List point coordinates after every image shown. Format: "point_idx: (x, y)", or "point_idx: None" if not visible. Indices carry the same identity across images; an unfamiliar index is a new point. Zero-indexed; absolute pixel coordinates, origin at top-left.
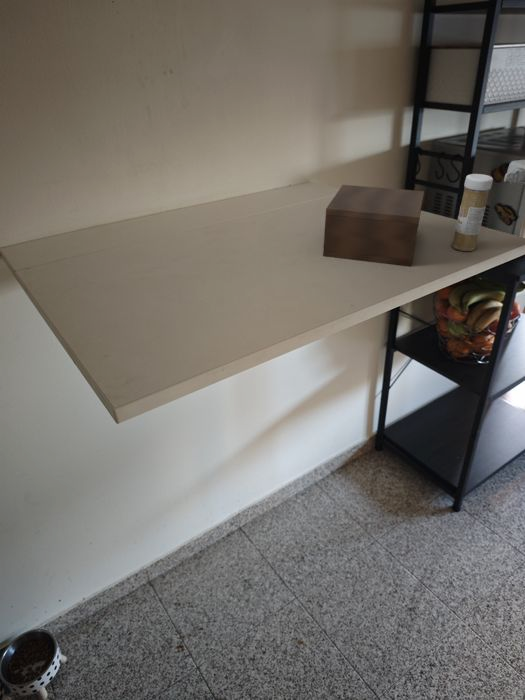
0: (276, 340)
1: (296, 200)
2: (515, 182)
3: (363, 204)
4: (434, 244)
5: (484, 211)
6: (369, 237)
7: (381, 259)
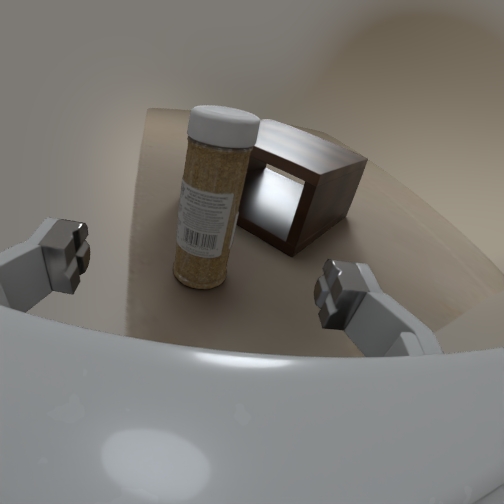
0: (147, 125)
1: (445, 240)
2: (323, 324)
3: (272, 128)
4: (240, 252)
5: (185, 197)
6: None
7: None
